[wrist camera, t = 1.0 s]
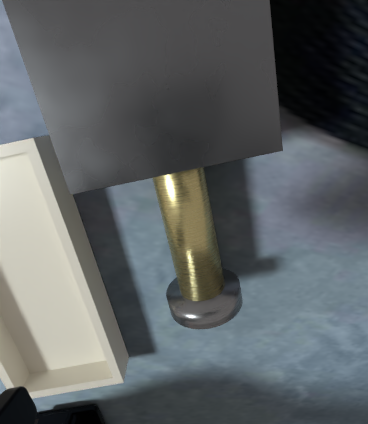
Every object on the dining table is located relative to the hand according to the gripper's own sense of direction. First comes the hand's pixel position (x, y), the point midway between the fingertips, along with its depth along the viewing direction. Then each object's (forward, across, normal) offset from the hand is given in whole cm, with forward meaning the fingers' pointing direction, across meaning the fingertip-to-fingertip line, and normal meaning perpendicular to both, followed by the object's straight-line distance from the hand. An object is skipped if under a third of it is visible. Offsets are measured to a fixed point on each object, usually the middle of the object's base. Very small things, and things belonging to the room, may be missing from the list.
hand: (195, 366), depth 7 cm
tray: (+12, +11, +2) cm, 16 cm away
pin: (+12, 0, -1) cm, 12 cm away
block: (+12, 0, -8) cm, 14 cm away
